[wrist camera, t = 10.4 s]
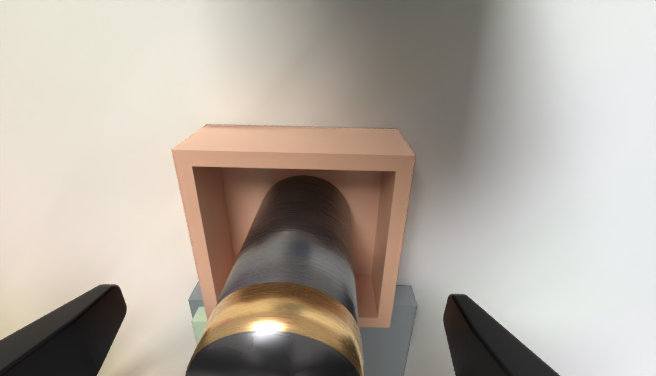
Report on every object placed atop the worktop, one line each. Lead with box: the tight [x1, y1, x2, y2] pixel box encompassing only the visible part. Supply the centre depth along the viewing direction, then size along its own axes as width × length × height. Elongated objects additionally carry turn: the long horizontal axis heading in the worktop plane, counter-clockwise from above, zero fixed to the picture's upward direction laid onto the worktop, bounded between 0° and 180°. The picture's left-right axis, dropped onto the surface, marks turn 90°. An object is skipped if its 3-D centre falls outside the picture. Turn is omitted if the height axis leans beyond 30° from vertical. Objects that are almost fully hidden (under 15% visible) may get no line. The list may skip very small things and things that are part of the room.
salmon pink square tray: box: [172, 124, 416, 328], centre depth 12 cm, size 7×7×3 cm
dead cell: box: [185, 175, 364, 376], centre depth 9 cm, size 4×4×8 cm
